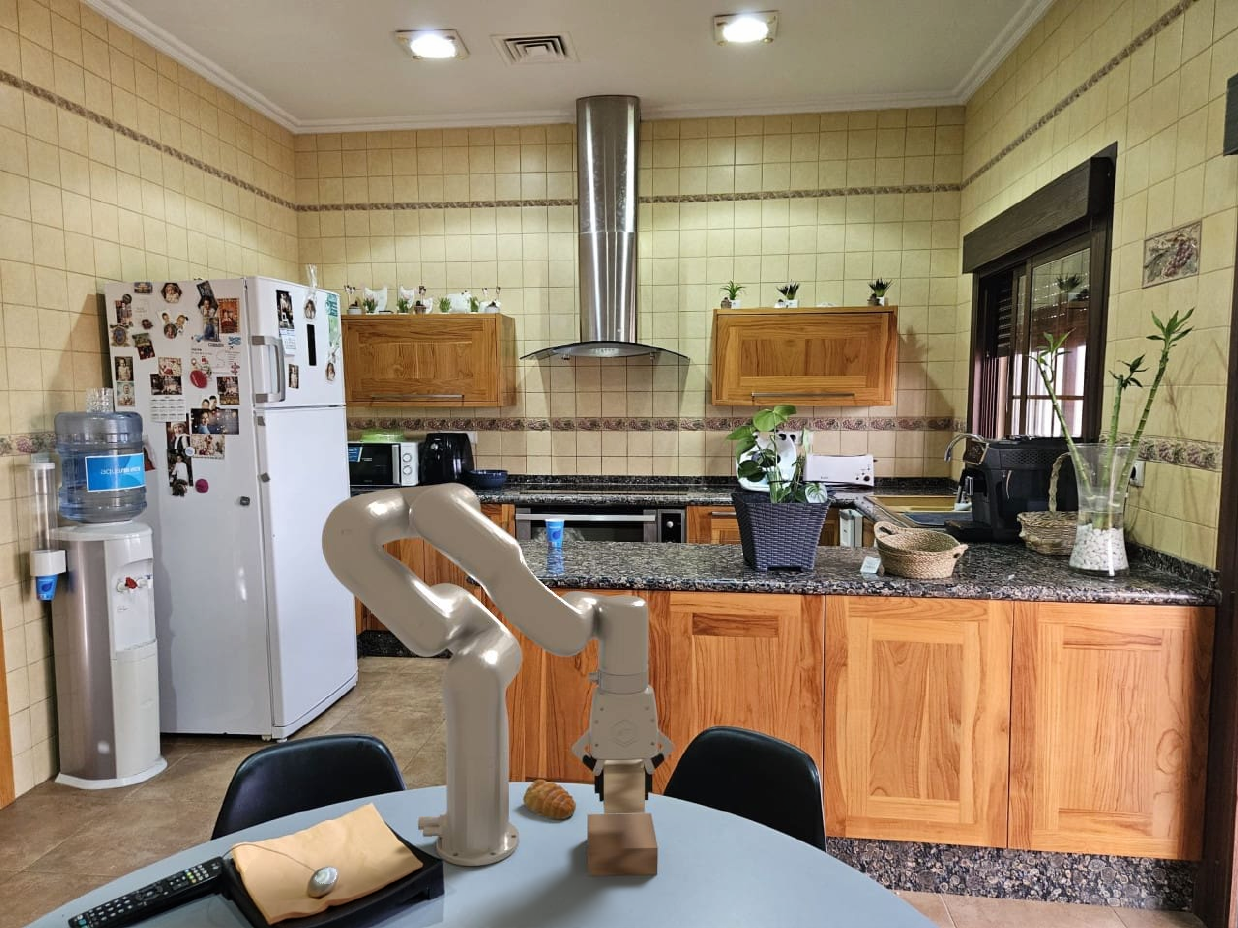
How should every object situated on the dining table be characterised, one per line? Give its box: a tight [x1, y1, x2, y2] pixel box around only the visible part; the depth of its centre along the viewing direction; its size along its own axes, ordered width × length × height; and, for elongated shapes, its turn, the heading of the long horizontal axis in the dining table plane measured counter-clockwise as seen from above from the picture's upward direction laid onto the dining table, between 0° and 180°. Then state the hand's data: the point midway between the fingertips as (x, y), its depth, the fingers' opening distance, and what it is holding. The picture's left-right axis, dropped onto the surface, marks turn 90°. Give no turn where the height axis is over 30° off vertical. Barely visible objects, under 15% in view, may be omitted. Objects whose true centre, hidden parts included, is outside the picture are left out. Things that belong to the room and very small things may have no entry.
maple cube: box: [602, 759, 646, 814], centre depth 119 cm, size 6×6×6 cm
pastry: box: [522, 779, 577, 820], centre depth 134 cm, size 9×7×4 cm
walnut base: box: [587, 812, 659, 877], centre depth 120 cm, size 10×10×4 cm
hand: (623, 795), depth 120 cm, fingers closed on maple cube, 6 cm apart
